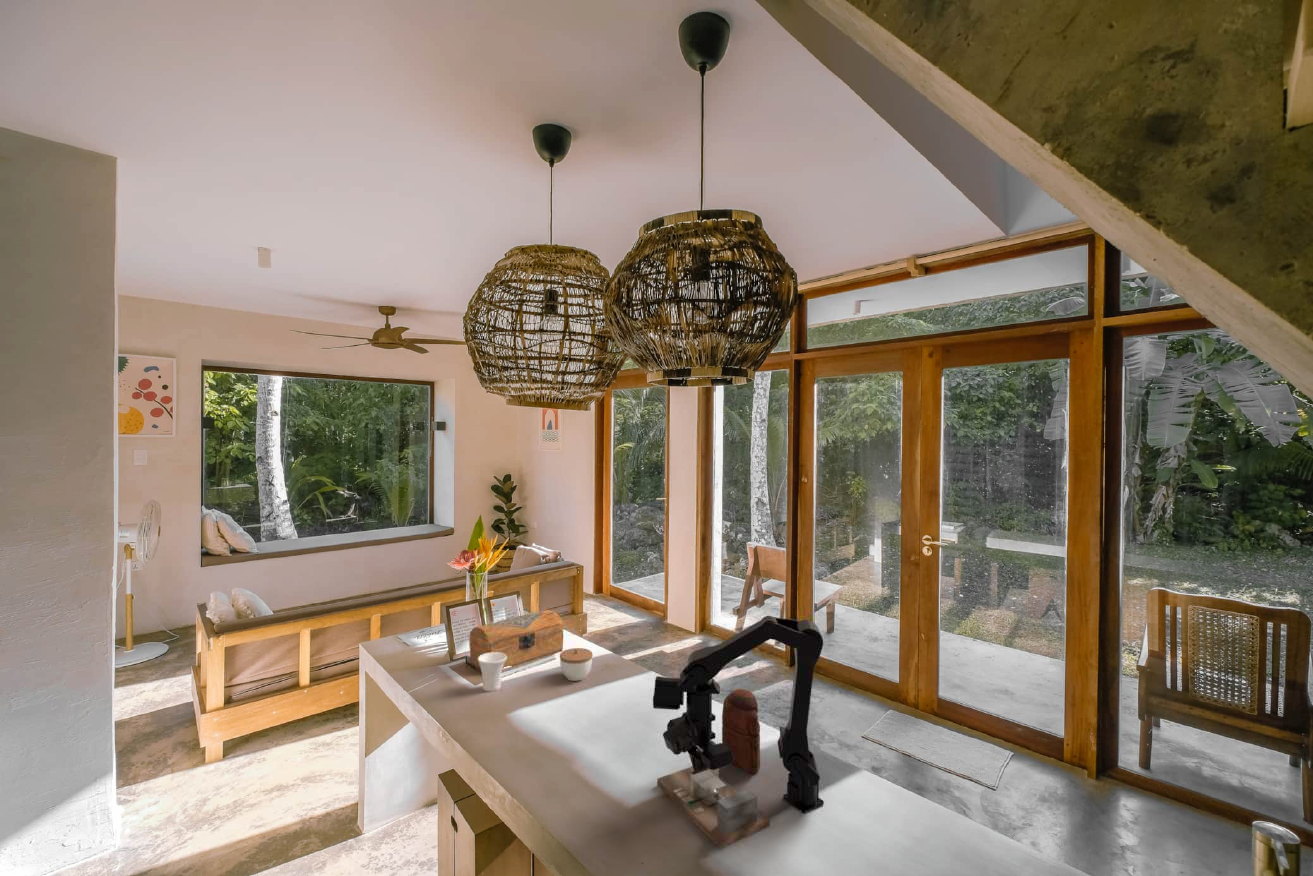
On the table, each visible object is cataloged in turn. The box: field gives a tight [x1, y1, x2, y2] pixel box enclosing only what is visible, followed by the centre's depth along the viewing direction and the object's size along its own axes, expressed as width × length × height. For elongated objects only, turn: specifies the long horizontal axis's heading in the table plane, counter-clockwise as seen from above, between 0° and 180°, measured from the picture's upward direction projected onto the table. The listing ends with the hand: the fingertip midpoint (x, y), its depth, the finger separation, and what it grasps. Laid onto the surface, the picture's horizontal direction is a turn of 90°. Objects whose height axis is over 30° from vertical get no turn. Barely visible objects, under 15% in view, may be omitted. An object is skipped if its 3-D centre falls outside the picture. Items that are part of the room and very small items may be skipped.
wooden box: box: [469, 609, 564, 669], centre depth 214 cm, size 30×16×14 cm, turn 133°
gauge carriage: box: [688, 767, 726, 806], centre depth 128 cm, size 9×9×5 cm
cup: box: [478, 652, 507, 692], centre depth 189 cm, size 9×9×10 cm
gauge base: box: [656, 766, 771, 849], centre depth 131 cm, size 13×24×6 cm, turn 31°
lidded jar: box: [559, 647, 593, 682], centre depth 197 cm, size 11×11×9 cm
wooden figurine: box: [721, 688, 761, 775], centre depth 147 cm, size 12×6×18 cm, turn 42°
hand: (698, 778), depth 135 cm, fingers closed
